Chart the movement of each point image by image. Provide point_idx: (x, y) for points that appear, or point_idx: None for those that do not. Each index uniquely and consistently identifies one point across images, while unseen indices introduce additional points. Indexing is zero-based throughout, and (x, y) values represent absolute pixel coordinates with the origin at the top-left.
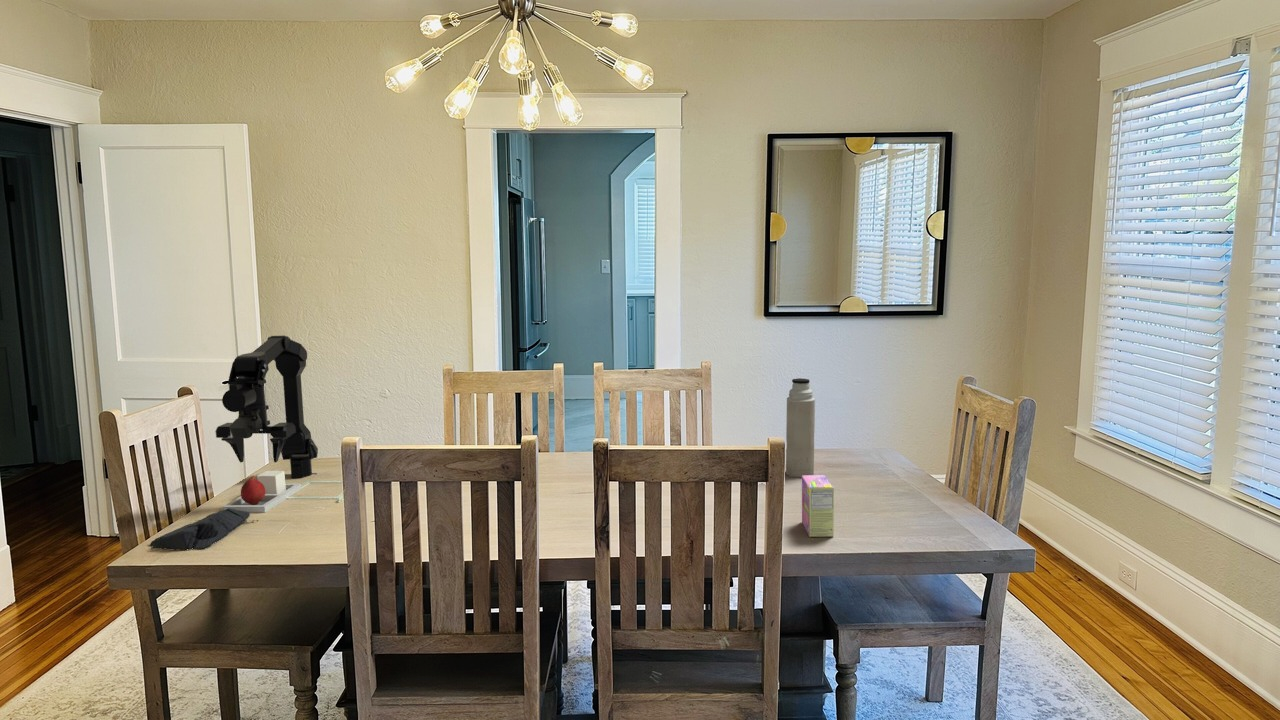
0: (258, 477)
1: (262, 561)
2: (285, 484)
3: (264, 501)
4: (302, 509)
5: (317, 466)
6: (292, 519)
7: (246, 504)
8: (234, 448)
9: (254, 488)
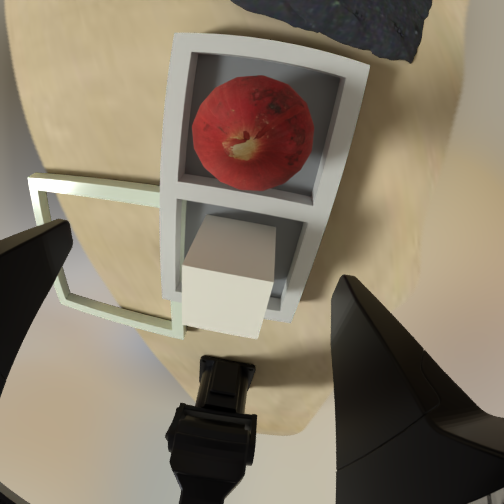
0: (268, 277)
1: None
2: None
3: None
4: (92, 111)
5: None
6: (91, 19)
7: None
8: (428, 373)
9: (222, 90)
